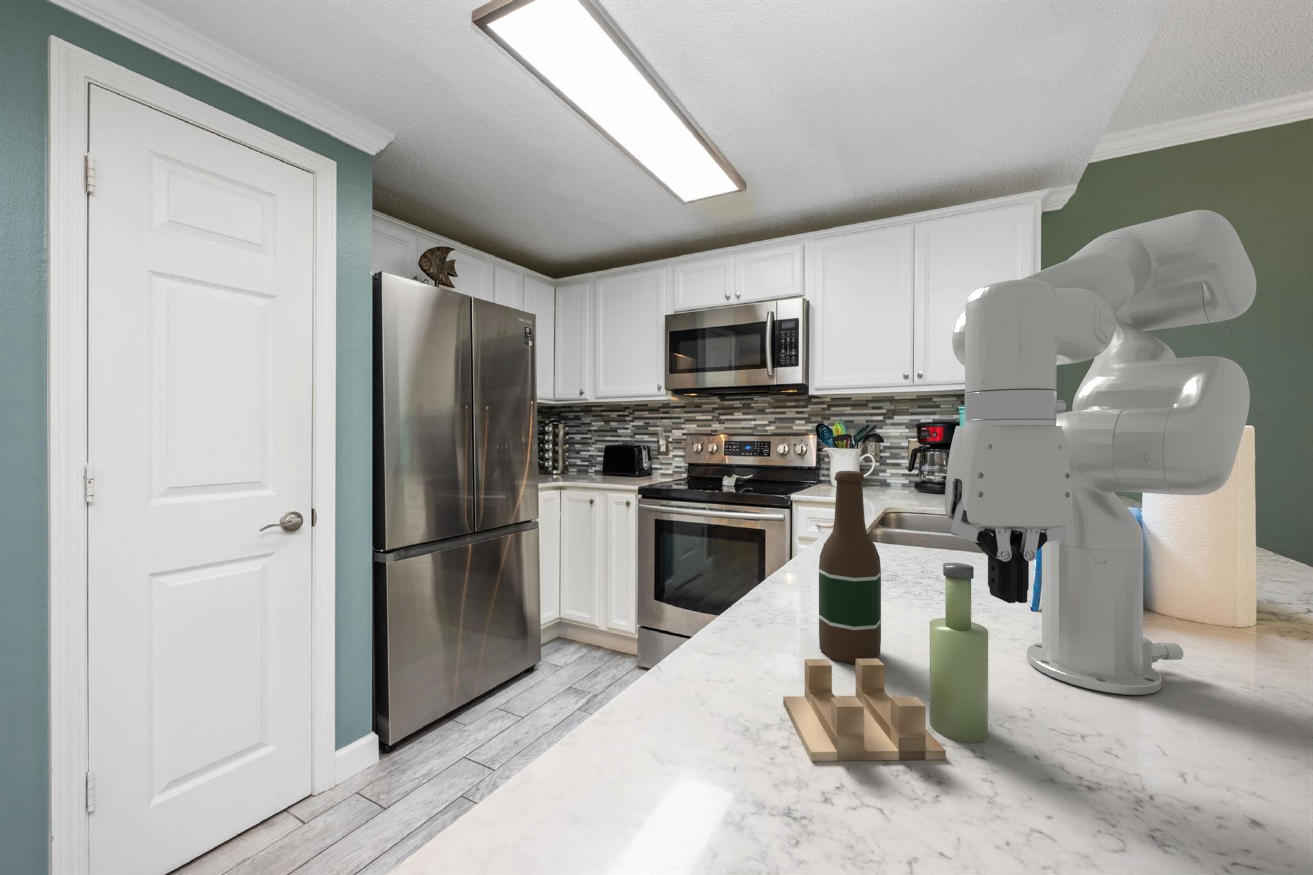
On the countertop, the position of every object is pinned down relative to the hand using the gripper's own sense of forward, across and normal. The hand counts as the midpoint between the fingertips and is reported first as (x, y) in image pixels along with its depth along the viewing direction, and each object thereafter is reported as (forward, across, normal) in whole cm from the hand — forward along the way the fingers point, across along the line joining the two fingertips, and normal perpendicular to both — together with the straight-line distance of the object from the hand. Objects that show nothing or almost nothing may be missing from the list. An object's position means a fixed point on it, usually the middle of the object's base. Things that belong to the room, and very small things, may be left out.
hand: (1007, 598), depth 52 cm
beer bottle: (+13, +9, -18) cm, 24 cm away
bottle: (+13, +5, 0) cm, 14 cm away
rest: (+13, +15, 0) cm, 20 cm away
